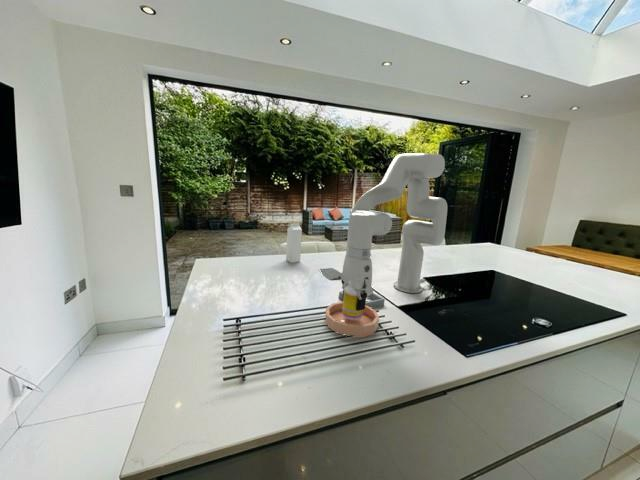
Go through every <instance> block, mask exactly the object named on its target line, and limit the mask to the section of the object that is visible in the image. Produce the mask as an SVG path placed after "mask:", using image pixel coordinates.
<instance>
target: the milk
mask: <svg viewBox="0 0 640 480" xmlns="http://www.w3.org/2000/svg"><path fill="white" fill-rule="evenodd" d="M286 231H287V232H286V248H285V249H286V252H285V261H287V262H289V263H291V264H293V263H299V261H300V262H301V254H302V253H301V252H302V237H303V236H302V235H303V234H302V233H303V229H302V228H301V226H300V223H299V222H294V223H293V222H292V223H290V225H289V226H288V227H287V229H286Z"/></svg>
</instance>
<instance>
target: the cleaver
mask: <svg viewBox="0 0 640 480" xmlns="http://www.w3.org/2000/svg"><path fill="white" fill-rule="evenodd" d="M320 270H321V272H322V274H323V275H322V274H321V275H322V276H323V277H325V278H326V279H328V280H330V281H335V280H336V281H337V280H340V279H341V278H340V274H341V273H342V272H340V271H339V270H338V269H335V268H333V267H329V268H328V267H327V268H320ZM321 272H320V273H321Z"/></svg>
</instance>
